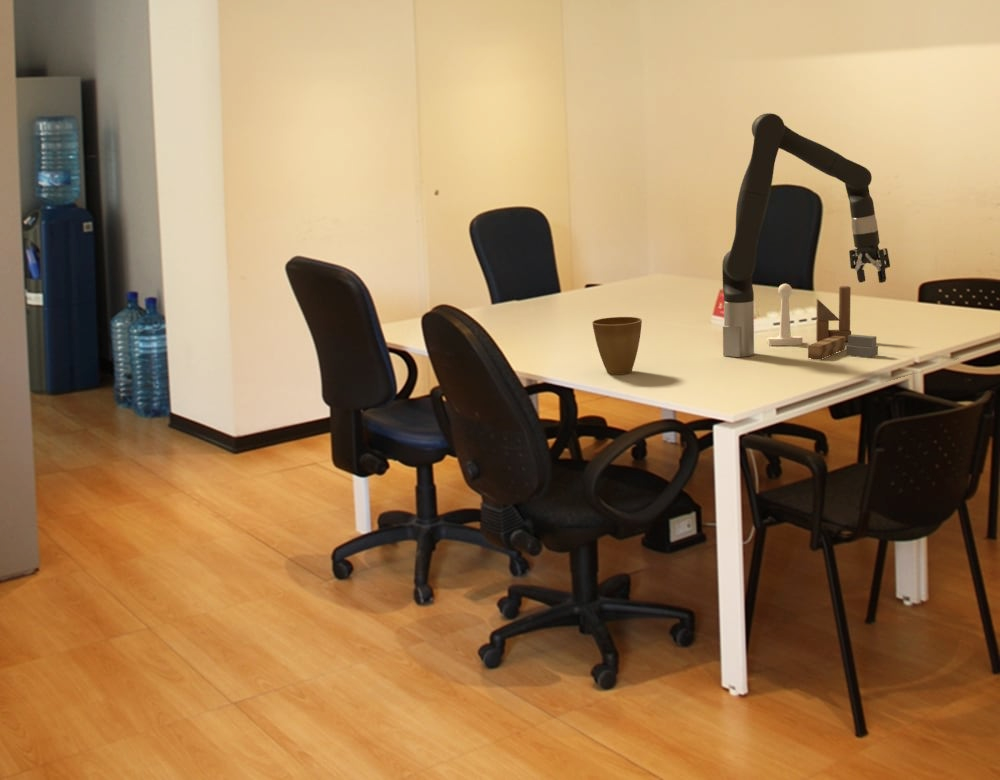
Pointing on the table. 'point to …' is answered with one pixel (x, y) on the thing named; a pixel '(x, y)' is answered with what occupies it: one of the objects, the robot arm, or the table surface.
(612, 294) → the table surface
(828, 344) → the walnut bar
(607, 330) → the plant pot
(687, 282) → the table surface
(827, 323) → the brown rod with wedge
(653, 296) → the table surface
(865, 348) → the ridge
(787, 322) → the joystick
